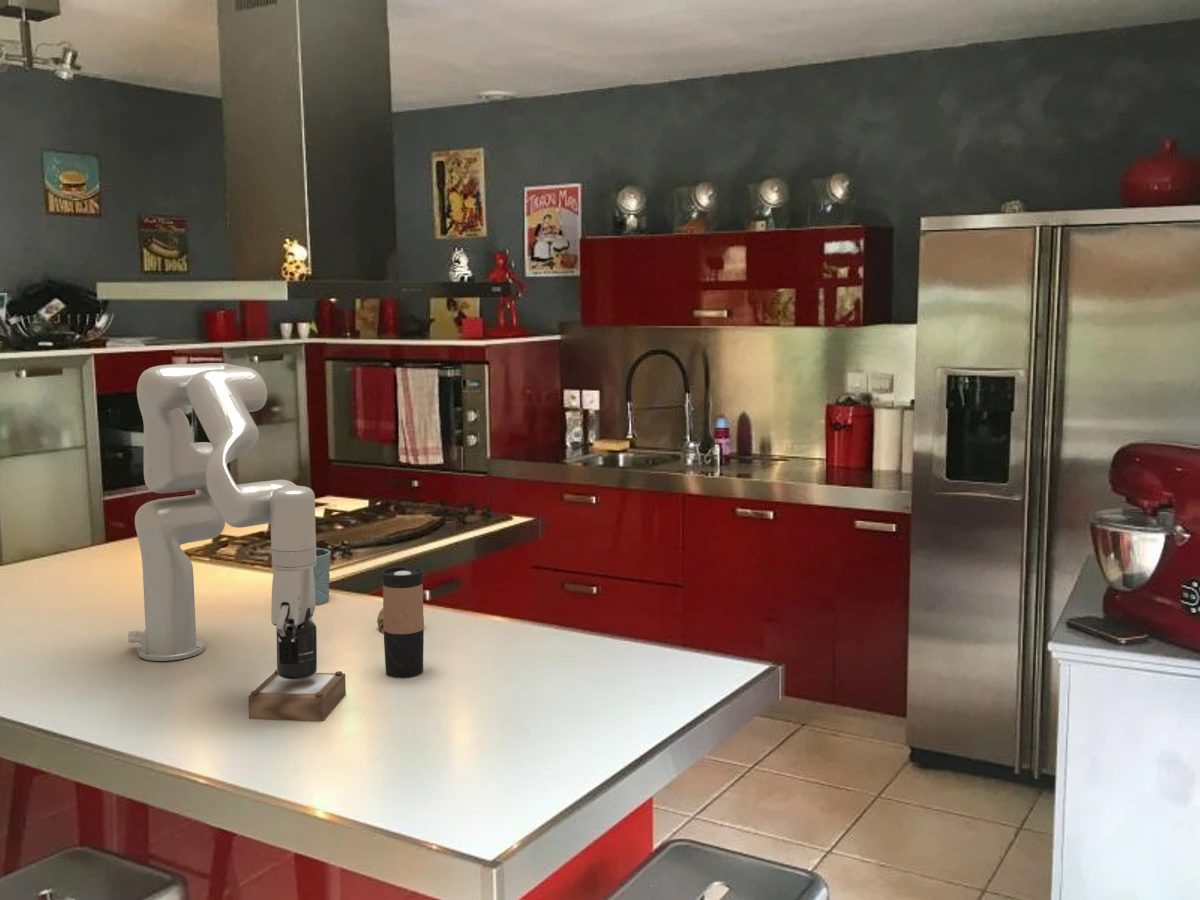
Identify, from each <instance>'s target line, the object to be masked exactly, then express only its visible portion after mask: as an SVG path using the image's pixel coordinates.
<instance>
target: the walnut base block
mask: <svg viewBox="0 0 1200 900" xmlns="http://www.w3.org/2000/svg"><path fill="white" fill-rule="evenodd" d="M346 688H347V686H346V673H345V672H344V673H343V671H339V670H338V671H335V672H316V673H315V674H314V675H313V676H310V677H307V678H303V679H285V678H282V677H280V676H279V675H278V673H277V669H275V670H274V672H273V673H272V674H271V675H270V676H269V677H268V678H266V679H265V680H264V681H263V682H262V683H261V684H259V685H258V686H257V687H256V688H255V689H254V690H252V691H251V693H250V694H249V695H248V696H247V697H248V702H247V703H248V719H253V720H255V719H256V720H261V719H262V720H282V721H283V720H285V721H287V720H289V721H290V720H291V721H317V722H318V721H319V722H320V721H321V722H322V721H325V719H327V718H328V716H329V715H330V714H331V713H332V711H334V709H335V708H336V707H337V706H338V704H339V703H341V701H342V700H343V698H344V697H345V696H346V695H347V691H346V690H347V689H346Z"/></svg>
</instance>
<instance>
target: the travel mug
mask: <svg viewBox="0 0 1200 900" xmlns="http://www.w3.org/2000/svg"><path fill="white" fill-rule="evenodd" d="M423 581H424V580H423V570H422V568H420V567H416V568H415V569H409V568H407V567H406V566H393V567H390V568H385V569H384V570H383V572H382V608H383V630H384V634H383V644H384V647H383V648H384V663H385V664H384V666H385V674H386V675H387V677H391V678H395V679H396V678H399V679H405V678H406V679H407V678H414V677H418V676H419V675H421V674H422V673H423V672H424V637H425V635H424V633H425V629H424V628H425V623H424V622H425V620H424V619H425V618H424V617H423V616H424V591H423V590H424V588H423V587H424V586H423V585H424V584H423Z"/></svg>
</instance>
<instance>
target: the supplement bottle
mask: <svg viewBox="0 0 1200 900" xmlns="http://www.w3.org/2000/svg"><path fill="white" fill-rule="evenodd" d="M310 618H311V614H310V607H309V608H308V609H307V611H306V617H305V621H304V622H302V623H301V624H300V625H298V630H297V637H296V641H298V645H299V663H298V664H281V663H280V651H279V640H278V639H279V636H278V631H277V630H276V670H277V673H278V675H279V676H280V677H282V678H285V679H303V678H307V677H310V676H313V675H314V674H315V673H317V671H318V669H317V668H318V660H317V659H318V655H317V654H318V646H317V644H318V643H317V642H318V640H317V634H318V633H317V631H318V630H317V625H316V623H315V622H314V621H313V622H312V621H311V620H309V619H310ZM287 623H292V624H293V623H294V621H287ZM287 630H290V632H291V634H292V628H287Z"/></svg>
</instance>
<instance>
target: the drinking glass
mask: <svg viewBox="0 0 1200 900" xmlns="http://www.w3.org/2000/svg"><path fill="white" fill-rule="evenodd" d="M316 564H317V565H316V566H315V567H313V571H314V582H315V607H317V606H321V605H324V604H326V603H329V601H330V579H331V577H330V569H331V550H330V549H328V548H324V547H323V548H320V547H316Z"/></svg>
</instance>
